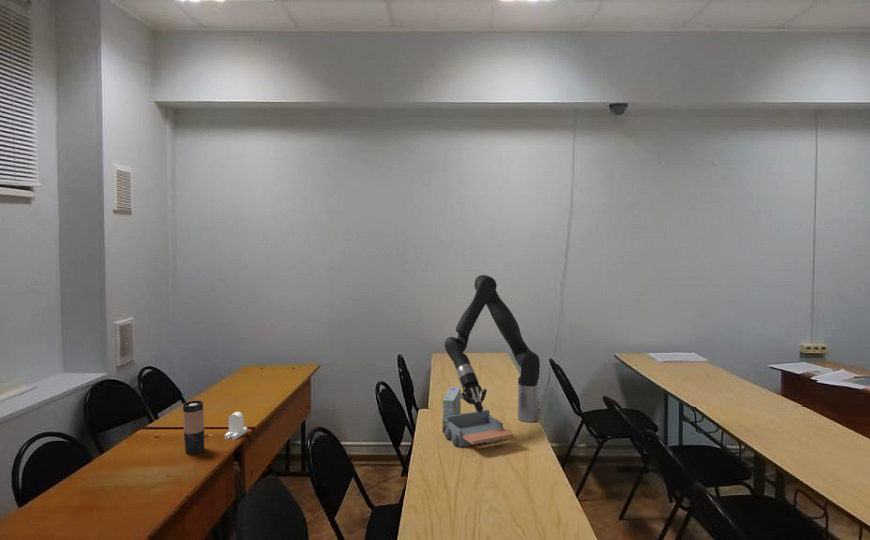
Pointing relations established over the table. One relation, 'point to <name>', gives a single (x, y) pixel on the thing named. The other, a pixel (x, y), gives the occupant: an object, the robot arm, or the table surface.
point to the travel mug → (193, 427)
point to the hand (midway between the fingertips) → (480, 411)
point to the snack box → (451, 404)
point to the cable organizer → (236, 426)
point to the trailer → (469, 426)
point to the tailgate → (487, 436)
